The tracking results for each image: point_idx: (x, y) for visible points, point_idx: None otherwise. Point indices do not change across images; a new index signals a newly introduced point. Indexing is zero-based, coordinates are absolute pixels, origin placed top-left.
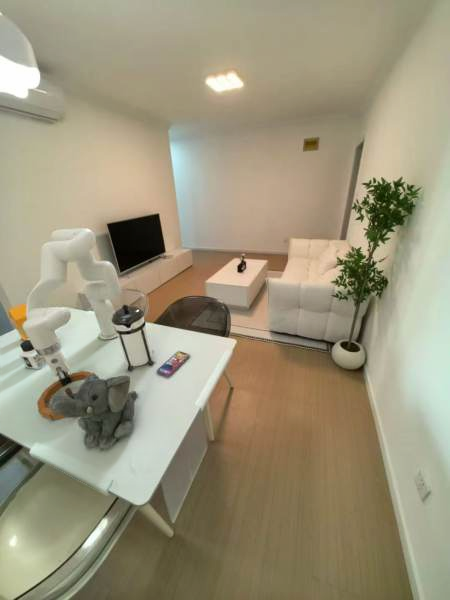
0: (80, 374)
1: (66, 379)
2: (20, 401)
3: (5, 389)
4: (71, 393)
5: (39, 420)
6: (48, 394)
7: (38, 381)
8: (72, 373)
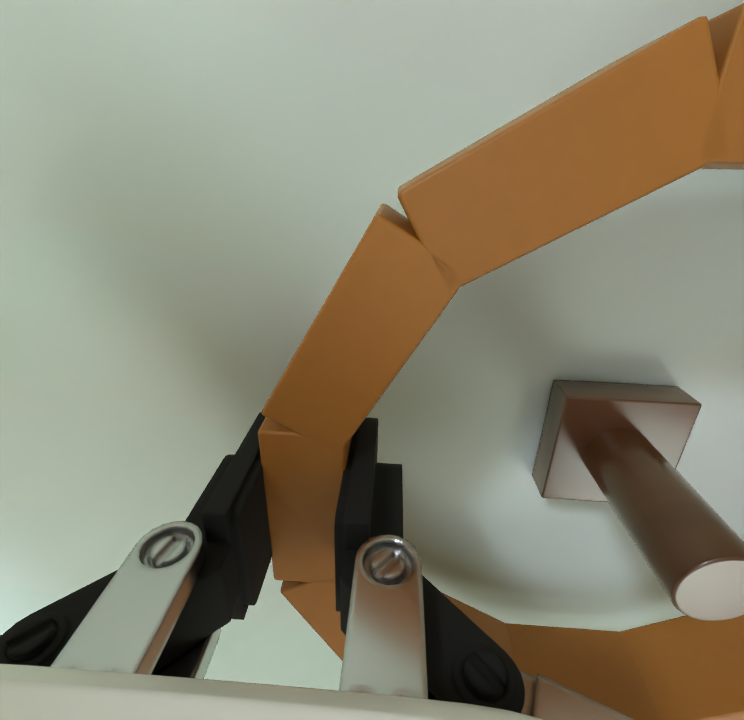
0: (425, 314)
1: (402, 530)
2: (229, 664)
3: None
4: (713, 510)
5: None
6: None
7: (46, 562)
8: (269, 411)
